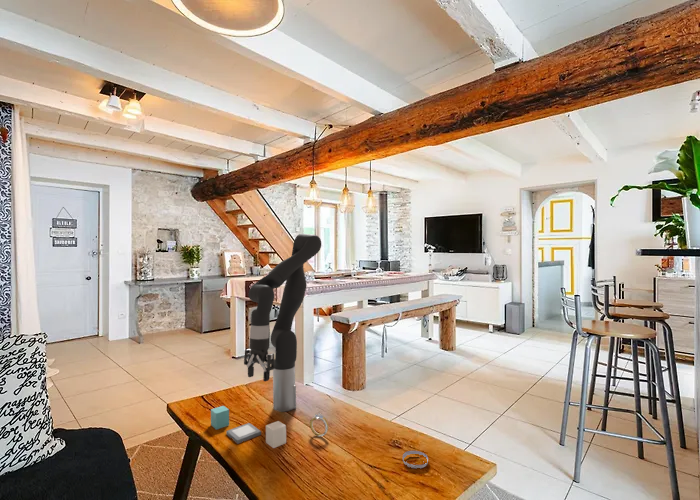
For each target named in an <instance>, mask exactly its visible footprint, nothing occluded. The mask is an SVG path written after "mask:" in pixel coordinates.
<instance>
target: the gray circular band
mask: <svg viewBox="0 0 700 500" xmlns="http://www.w3.org/2000/svg"><path fill="white" fill-rule="evenodd" d="M410 454H419V455H423V456H424V457H426V459H427V463H425V464H424V463H423V464H412V463H408V462H407V461H406V462H405V461H404V458H405V457H406V456H407V455H410ZM402 462H403V463H404V465H405V466H406V465H407V466H406V467H408V468H410V467H411V469H417V468H420V469H423V468H425V467H427V466H428V463H429V457H428V455H427V454H426V453H424V452H422V451H418V450H407V451H405V452H404V453H403V454H402Z"/></svg>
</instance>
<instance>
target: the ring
mask: <svg viewBox="0 0 700 500" xmlns="http://www.w3.org/2000/svg"><path fill="white" fill-rule="evenodd" d="M315 420H320V421H322V422H323V424H324V427H325V428H324V429H325V430H324V432H323V433H321V432H317V431H316V430H315V428H314V425H313V423H314V421H315ZM309 428H310V430H311V432H312V433H313V434H314V436H316V437H318V438H320V437H324V436H325V435H326V434H327V432H328V431H329V422H328V420H327V418H326V417H324V415H323V414H322V413H320V412H318V414H317V413H315V414H314V416H313V417H312V418H311V419H310V421H309Z"/></svg>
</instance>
